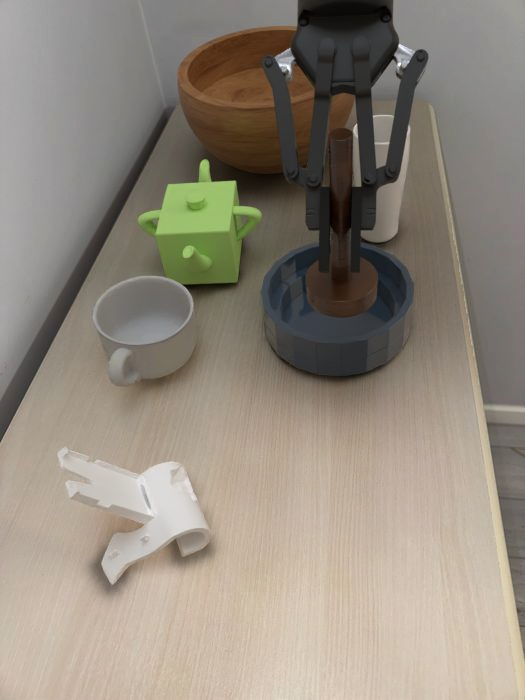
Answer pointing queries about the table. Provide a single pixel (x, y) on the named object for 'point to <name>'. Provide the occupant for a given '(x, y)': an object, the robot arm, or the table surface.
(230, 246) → the teapot
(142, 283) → the teacup
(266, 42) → the bowl
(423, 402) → the table surface
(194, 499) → the plastic part
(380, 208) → the drinking glass
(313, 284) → the wooden stand
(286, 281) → the mixing bowl
